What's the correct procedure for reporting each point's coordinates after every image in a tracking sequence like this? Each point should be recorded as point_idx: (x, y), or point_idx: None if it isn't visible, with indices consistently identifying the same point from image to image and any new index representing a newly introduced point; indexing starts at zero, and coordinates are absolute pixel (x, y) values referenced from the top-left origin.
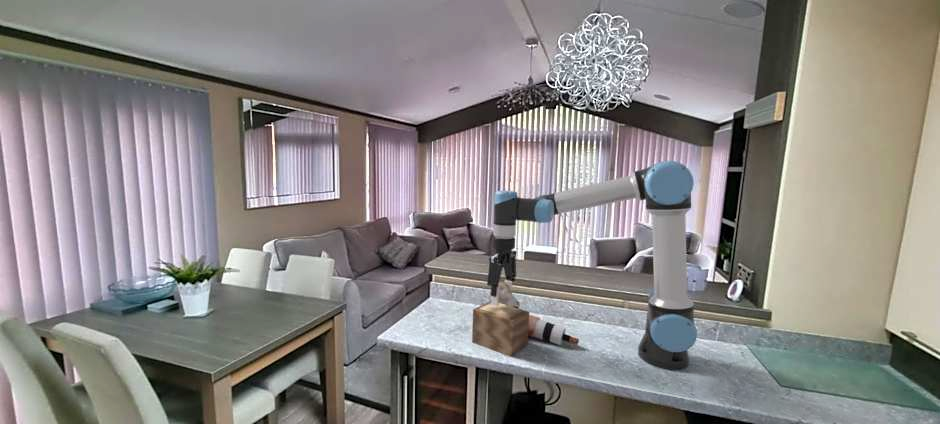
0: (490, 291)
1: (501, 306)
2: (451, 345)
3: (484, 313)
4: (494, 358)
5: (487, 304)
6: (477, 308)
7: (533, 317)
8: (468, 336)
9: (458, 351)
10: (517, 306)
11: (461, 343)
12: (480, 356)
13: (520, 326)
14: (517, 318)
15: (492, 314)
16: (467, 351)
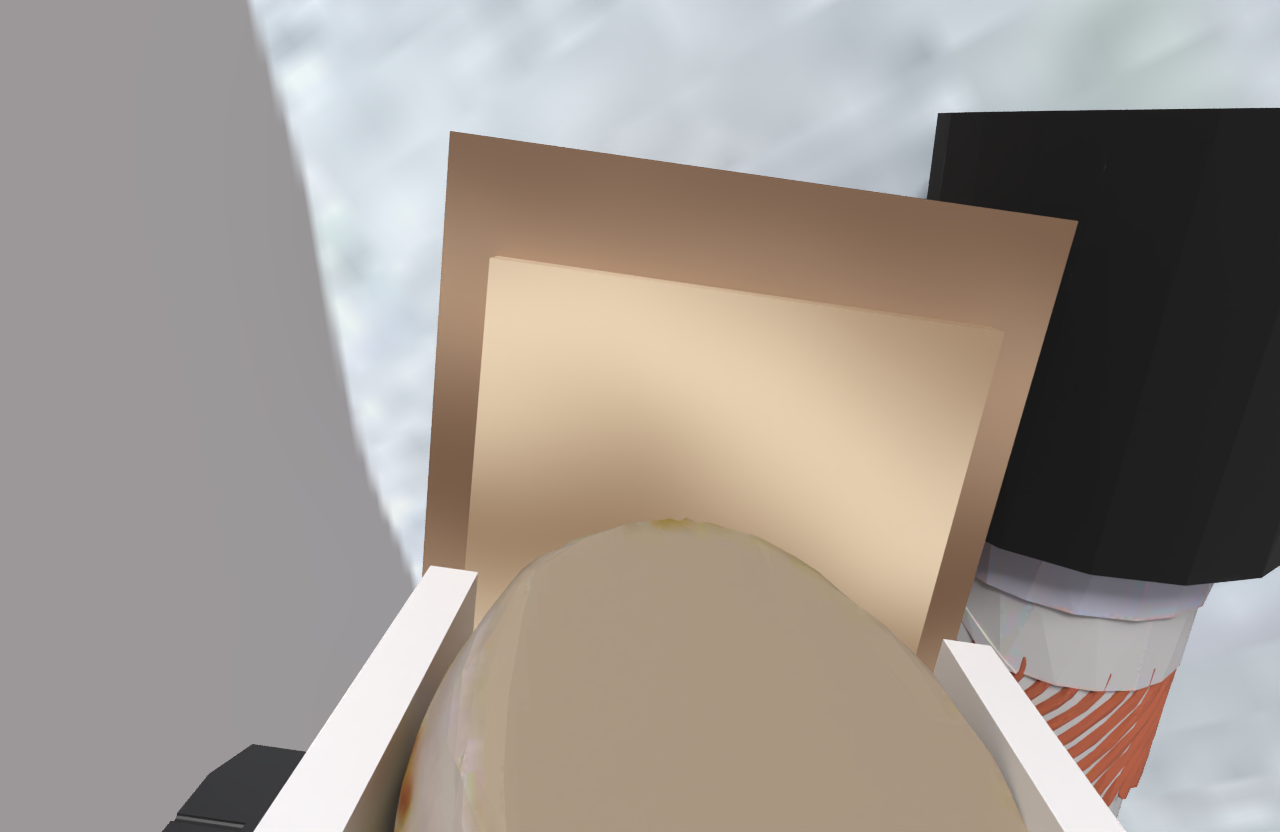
0: (471, 641)
1: (809, 561)
2: (365, 6)
3: (436, 395)
4: (406, 493)
5: (847, 253)
6: (542, 183)
7: (1080, 761)
8: (656, 56)
9: (308, 148)
10: (1256, 573)
11: (467, 79)
12: (360, 377)
13: None
14: None
15: (461, 534)
16: (363, 227)
